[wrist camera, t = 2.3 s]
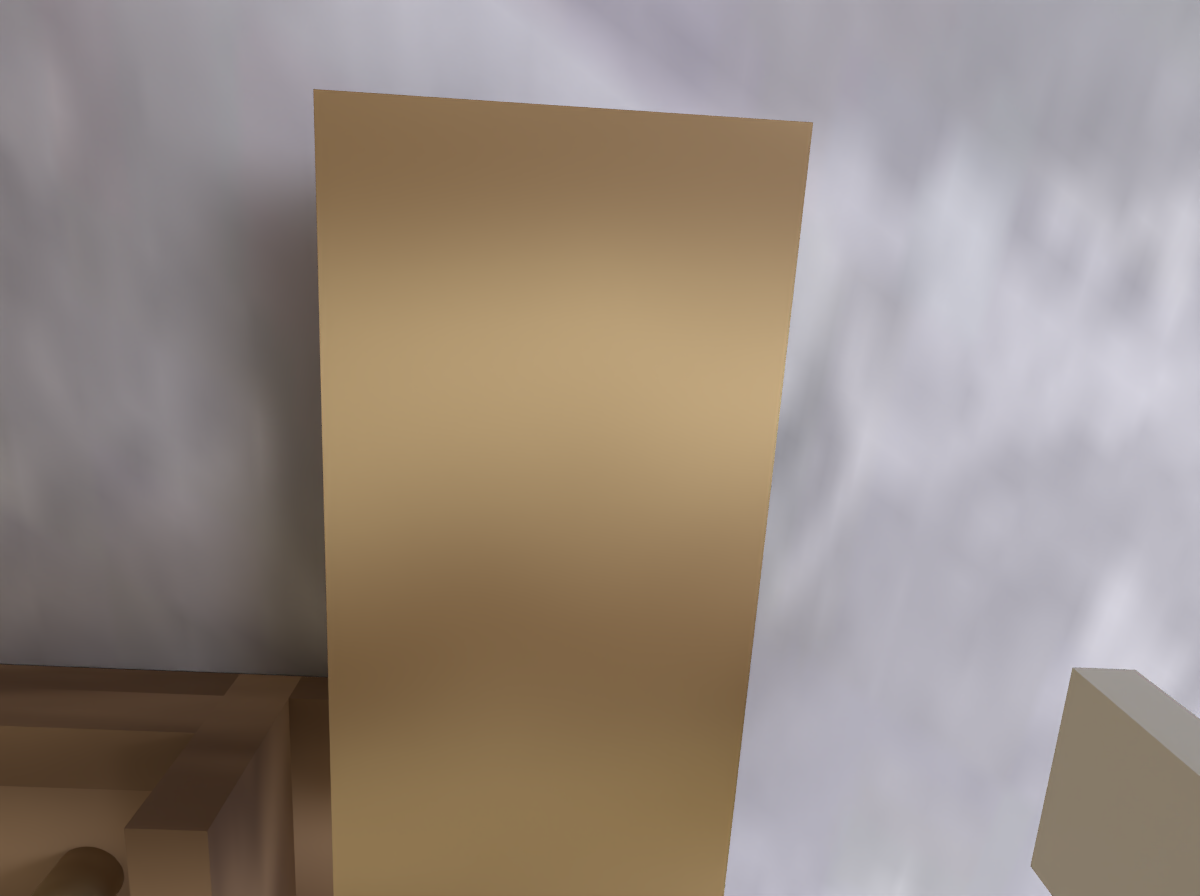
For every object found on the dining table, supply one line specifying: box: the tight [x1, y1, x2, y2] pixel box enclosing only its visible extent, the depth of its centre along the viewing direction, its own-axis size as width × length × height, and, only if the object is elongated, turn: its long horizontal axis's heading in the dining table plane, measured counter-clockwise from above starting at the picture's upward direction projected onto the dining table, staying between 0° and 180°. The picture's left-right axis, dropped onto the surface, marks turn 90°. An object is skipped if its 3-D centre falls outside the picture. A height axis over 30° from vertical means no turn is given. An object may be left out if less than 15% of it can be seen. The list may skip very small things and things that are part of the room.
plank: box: [314, 89, 813, 896], centre depth 14 cm, size 14×6×4 cm, turn 177°
